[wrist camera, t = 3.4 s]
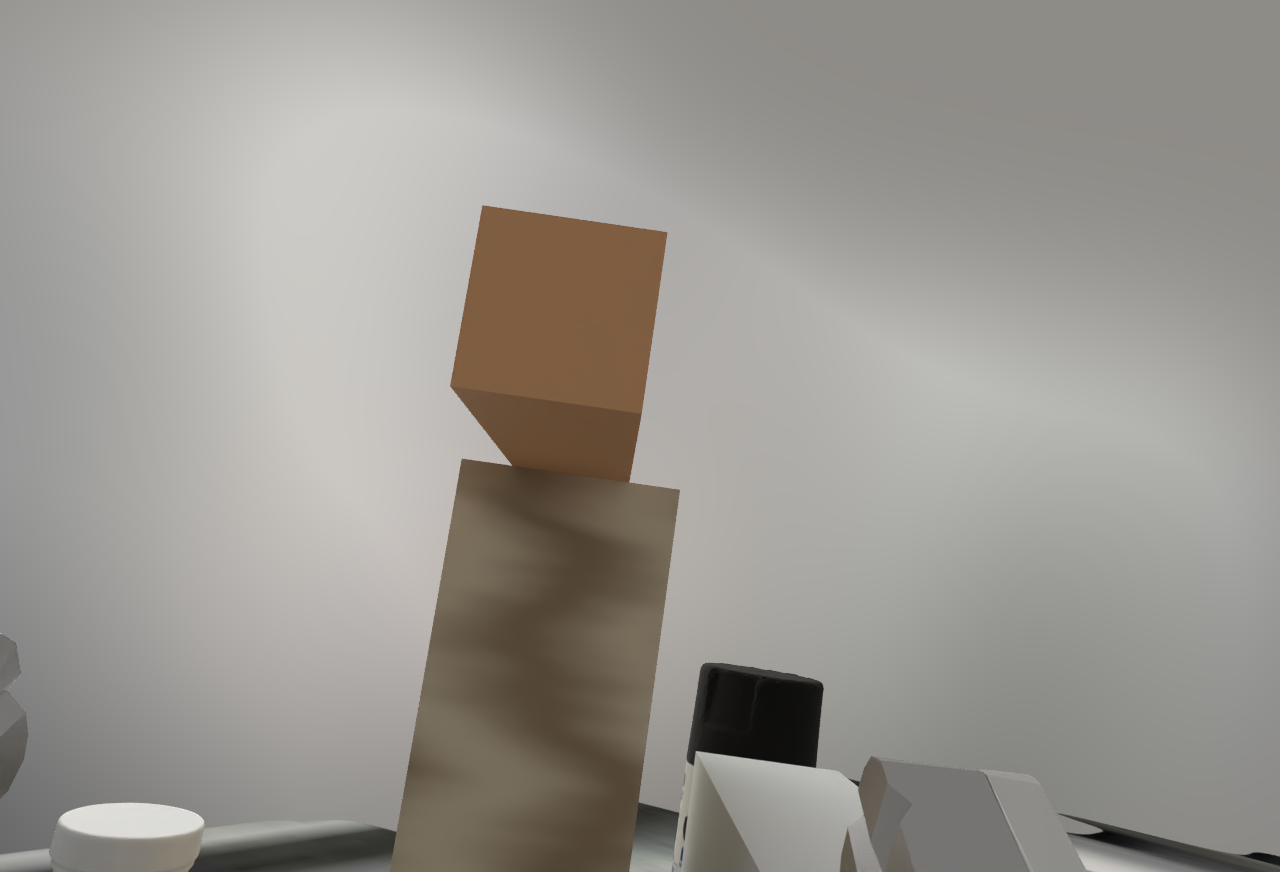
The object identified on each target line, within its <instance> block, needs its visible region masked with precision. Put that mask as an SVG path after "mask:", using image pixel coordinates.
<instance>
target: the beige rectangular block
mask: <svg viewBox="0 0 1280 872" xmlns="http://www.w3.org/2000/svg"><path fill="white" fill-rule="evenodd" d="M679 493H680V490H677V489H669V488H663V487H656V486H649V485H642V484H635V483H628V482H621V481H614V480H607V479H600V478H593V477H586V476H579V475H572V474H565V473H558V472H551V471H544V470H537V469H530V468H523V467H516V466H509V465H502V464H495V463H487V462H481V461H474V460H466V459H462V461H461V467H460V473H459V478H458V484H457V489H456V496H455V501H454V507H453V513H452V519H451V524H450V530H449V535H448V541H447V547H446V553H445V558H444V564H443V570H442V576H441V581H440V587H439V593H438V599H437V604H436V610H435V616H434V622H433V627H432V633H431V639H430V644H429V651H428V656H427V662H426V668H425V673H424V679H423V685H422V690H421V696H420V702H419V708H418V714H417V719H416V726H415V731H414V736H413V742H412V748H411V753H410V760H409V765H408V771H407V776H406V782H405V788H404V794H403V799H402V805H401V811H400V817H399V822H398V828H397V834H396V840H395V845H394V851H393V857H392V863H391V868H390V872H629V869H630V861H631V854H632V846H633V839H634V831H635V823H636V816H637V808H638V801H639V793H640V786H641V778H642V771H643V763H644V756H645V748H646V741H647V733H648V726H649V718H650V711H651V703H652V695H653V688H654V681H655V673H656V665H657V658H658V650H659V642H660V636H661V627H662V621H663V613H664V606H665V598H666V591H667V583H668V575H669V568H670V561H671V553H672V546H673V538H674V531H675V522H676V515H677V508H678V500H679Z"/></svg>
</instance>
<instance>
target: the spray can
mask: <svg viewBox="0 0 1280 872" xmlns="http://www.w3.org/2000/svg"><path fill="white" fill-rule="evenodd" d="M823 689H824V688H823V685H822V683H821V682H820V681H817V680H814V679H811V678H805V677H801V676H798V675H795V674H789V673H781V672H777V671H772V670H762V669H758V668H754V667H745V666H737V665H731V664H724V663H705V664H703V665H702V667H701V670H700V676H699V682H698V690H697V696H696V702H695V709H694V715H693V722H692V728H691V734H690V741H689V746H688V753H687V762H686V768H685V776H684V784H683V791H682V799H681V806H680V812H679V819H678V828H677V835H676V842H675V849H674V857H673V863H672V872H681V866H682V858H683V850H684V842H685V834H686V826H687V818H688V810H689V802H690V794H691V786H692V778H693V770H694V762H695V754H696V751H698V752H705V753H712V754H719V755H726V756H734V757H741V758H748V759H755V760H762V761H769V762H776V763H783V764H790V765H798V766H805V767H812V768H816V761H817V748H818V738H819V727H820V717H821V706H822V697H823Z"/></svg>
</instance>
